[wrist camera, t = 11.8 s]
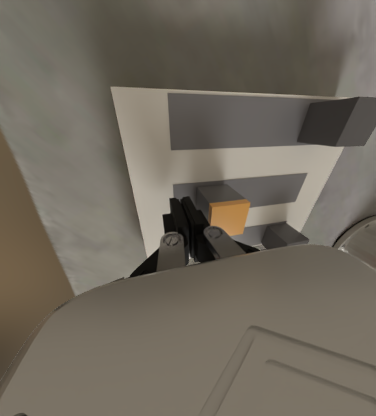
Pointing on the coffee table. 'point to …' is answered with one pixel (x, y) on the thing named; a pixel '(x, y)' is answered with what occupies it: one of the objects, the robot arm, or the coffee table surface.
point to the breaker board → (236, 153)
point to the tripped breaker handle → (223, 208)
